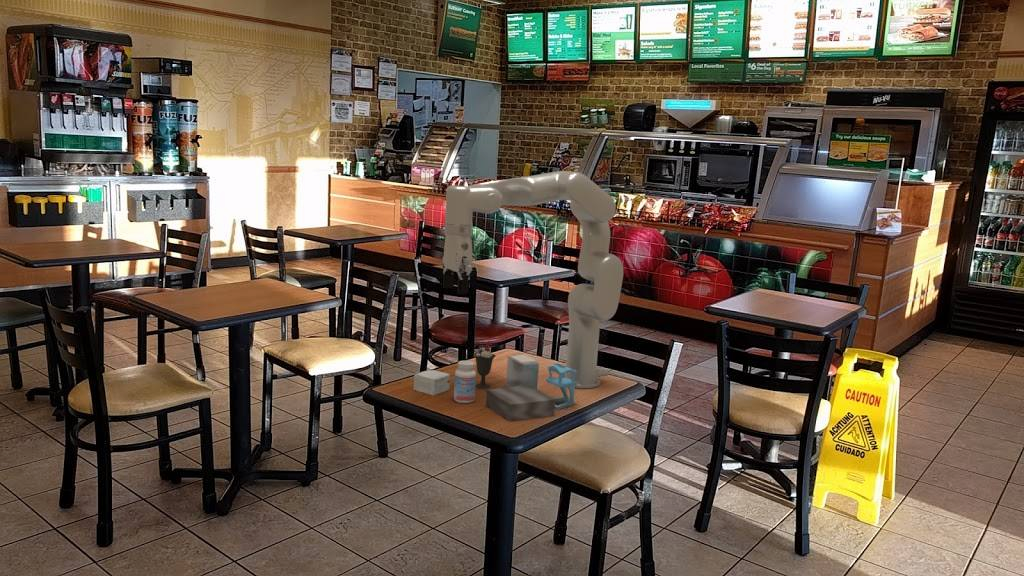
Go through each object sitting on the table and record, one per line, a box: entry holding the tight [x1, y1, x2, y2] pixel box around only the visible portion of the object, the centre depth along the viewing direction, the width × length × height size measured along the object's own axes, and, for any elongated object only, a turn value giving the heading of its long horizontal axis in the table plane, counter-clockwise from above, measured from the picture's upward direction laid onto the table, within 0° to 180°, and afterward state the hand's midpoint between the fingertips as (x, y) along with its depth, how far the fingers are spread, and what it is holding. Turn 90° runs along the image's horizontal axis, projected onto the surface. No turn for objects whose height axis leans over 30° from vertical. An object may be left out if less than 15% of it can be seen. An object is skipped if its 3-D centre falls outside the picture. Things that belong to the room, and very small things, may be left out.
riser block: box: [485, 385, 556, 422], centre depth 218 cm, size 14×14×5 cm
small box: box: [413, 369, 451, 397], centre depth 231 cm, size 8×8×5 cm
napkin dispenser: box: [505, 354, 540, 390], centre depth 234 cm, size 5×10×10 cm, turn 29°
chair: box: [545, 362, 577, 411], centre depth 225 cm, size 8×8×12 cm
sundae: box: [473, 340, 497, 390], centre depth 237 cm, size 7×7×15 cm
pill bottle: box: [453, 360, 477, 404], centre depth 223 cm, size 6×6×11 cm
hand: (455, 290), depth 220 cm, fingers open, 9 cm apart
